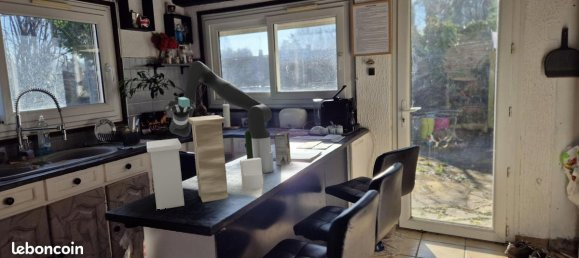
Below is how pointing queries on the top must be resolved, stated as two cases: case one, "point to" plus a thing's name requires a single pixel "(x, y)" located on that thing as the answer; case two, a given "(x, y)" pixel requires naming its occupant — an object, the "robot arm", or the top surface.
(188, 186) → the top surface
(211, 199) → the birch stand
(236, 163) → the top surface
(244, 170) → the cylinder with rectangular tab
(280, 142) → the coffee box
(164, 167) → the white pedestal
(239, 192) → the top surface
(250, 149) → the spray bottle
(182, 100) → the teal bar
